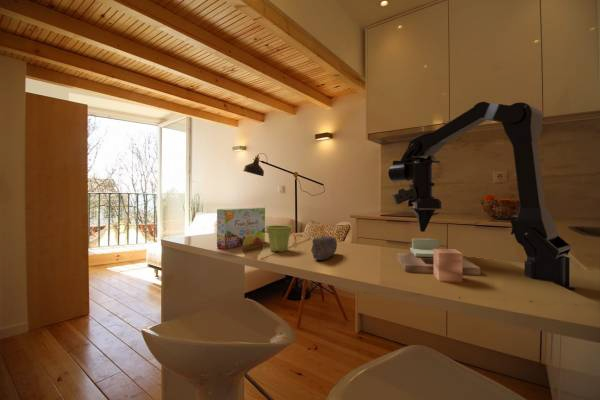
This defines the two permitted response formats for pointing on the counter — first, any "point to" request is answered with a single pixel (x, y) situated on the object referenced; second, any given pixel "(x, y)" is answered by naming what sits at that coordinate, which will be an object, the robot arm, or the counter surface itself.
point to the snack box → (240, 227)
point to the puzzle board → (431, 264)
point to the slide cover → (424, 247)
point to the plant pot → (279, 237)
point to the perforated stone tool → (323, 247)
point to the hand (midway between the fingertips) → (422, 231)
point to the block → (448, 265)
